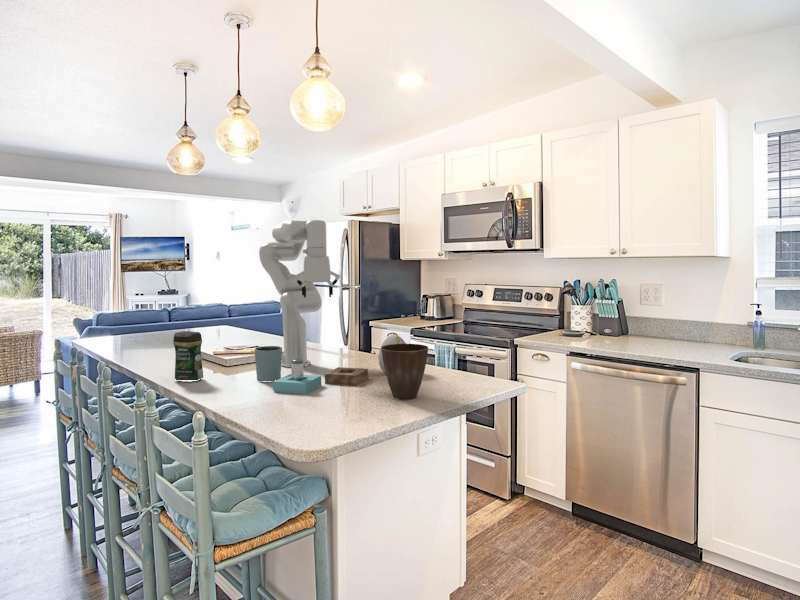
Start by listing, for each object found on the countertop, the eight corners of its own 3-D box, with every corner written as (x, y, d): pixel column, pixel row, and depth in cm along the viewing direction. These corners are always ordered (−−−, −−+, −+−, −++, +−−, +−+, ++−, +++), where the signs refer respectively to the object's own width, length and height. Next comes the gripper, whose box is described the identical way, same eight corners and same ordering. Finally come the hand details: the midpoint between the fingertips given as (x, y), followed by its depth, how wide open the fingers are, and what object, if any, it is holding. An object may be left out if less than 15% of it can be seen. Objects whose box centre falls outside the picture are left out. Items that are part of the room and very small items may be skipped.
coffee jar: (170, 382, 185) (168, 332, 184) (185, 377, 193) (182, 329, 192) (193, 383, 183) (191, 333, 182) (207, 378, 191) (205, 330, 189)
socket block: (273, 391, 169) (273, 381, 169) (290, 383, 181) (290, 374, 180) (305, 394, 166) (305, 383, 166) (321, 385, 177) (321, 375, 177)
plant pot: (428, 390, 167) (427, 343, 166) (429, 403, 153) (428, 350, 151) (383, 391, 168) (382, 343, 167) (380, 403, 153) (379, 351, 152)
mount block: (324, 383, 180) (324, 373, 180) (338, 376, 192) (338, 367, 191) (356, 385, 177) (356, 375, 176) (368, 377, 188) (367, 368, 188)
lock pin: (289, 389, 172) (289, 360, 171) (295, 386, 176) (294, 358, 175) (300, 390, 171) (299, 361, 170) (305, 387, 175) (305, 359, 174)
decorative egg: (407, 376, 190) (407, 337, 189) (375, 375, 192) (375, 336, 191) (412, 369, 202) (411, 332, 201) (382, 369, 204) (381, 332, 203)
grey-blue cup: (265, 376, 194) (264, 345, 193) (288, 377, 191) (287, 346, 190) (249, 382, 184) (248, 349, 184) (273, 383, 181) (272, 350, 180)
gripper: (293, 252, 188) (294, 298, 190) (339, 252, 191) (340, 297, 192) (294, 253, 196) (295, 296, 197) (339, 252, 198) (339, 296, 200)
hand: (317, 297), depth 195 cm, fingers open, 9 cm apart
